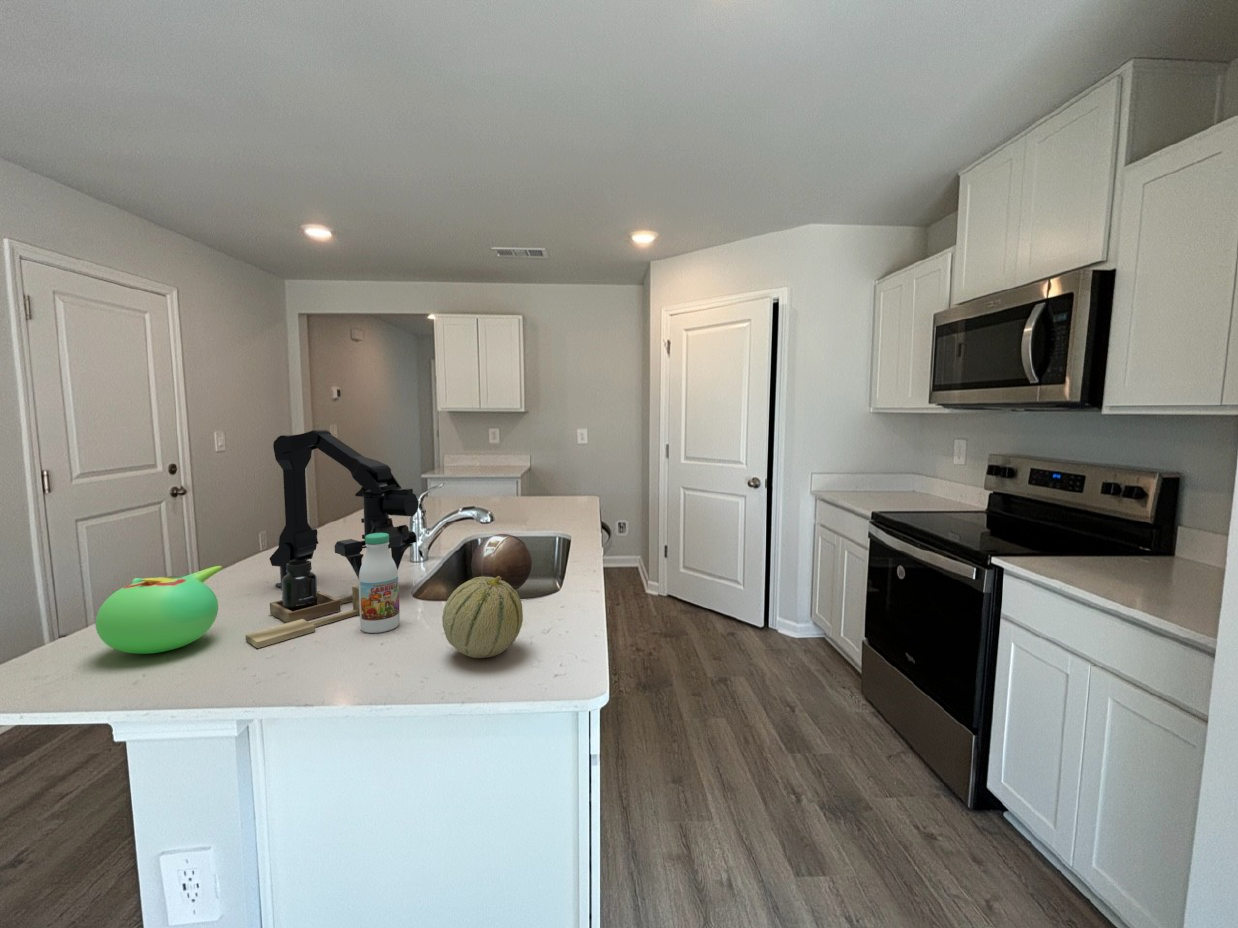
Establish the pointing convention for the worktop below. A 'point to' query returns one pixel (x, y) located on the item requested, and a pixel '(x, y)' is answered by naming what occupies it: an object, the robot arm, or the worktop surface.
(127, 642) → the green spouted ovoid
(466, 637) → the cantaloupe
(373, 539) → the milk bottle
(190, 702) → the worktop surface
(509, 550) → the wooden sphere
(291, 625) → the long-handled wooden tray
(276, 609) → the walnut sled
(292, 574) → the supplement bottle
